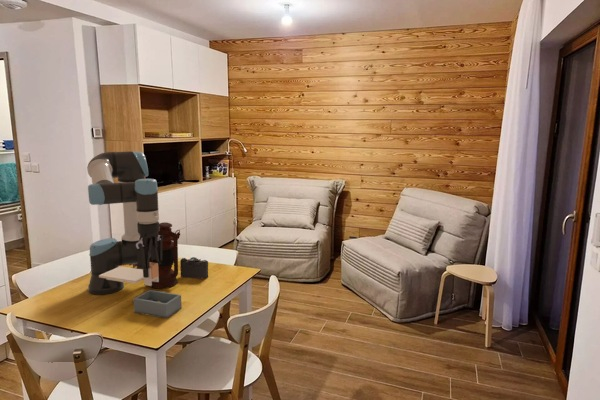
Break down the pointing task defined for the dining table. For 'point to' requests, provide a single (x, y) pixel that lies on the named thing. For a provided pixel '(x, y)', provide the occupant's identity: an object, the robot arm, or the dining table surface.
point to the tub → (157, 303)
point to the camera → (194, 268)
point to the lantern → (168, 257)
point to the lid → (130, 274)
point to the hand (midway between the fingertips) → (151, 283)
